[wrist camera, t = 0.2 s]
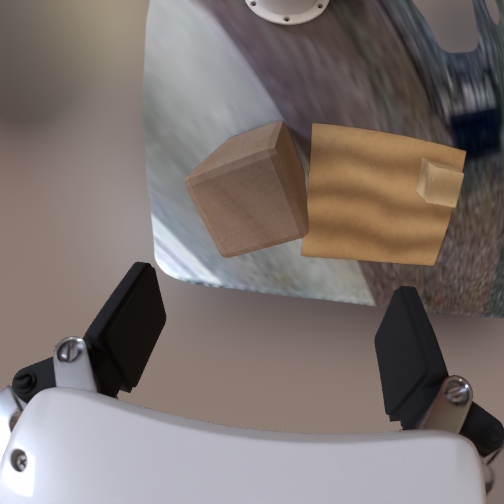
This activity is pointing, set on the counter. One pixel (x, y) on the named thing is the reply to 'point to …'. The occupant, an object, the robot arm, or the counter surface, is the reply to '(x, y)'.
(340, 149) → the wooden board
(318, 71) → the counter surface
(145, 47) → the counter surface
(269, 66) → the counter surface
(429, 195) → the oak cube
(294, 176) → the block
